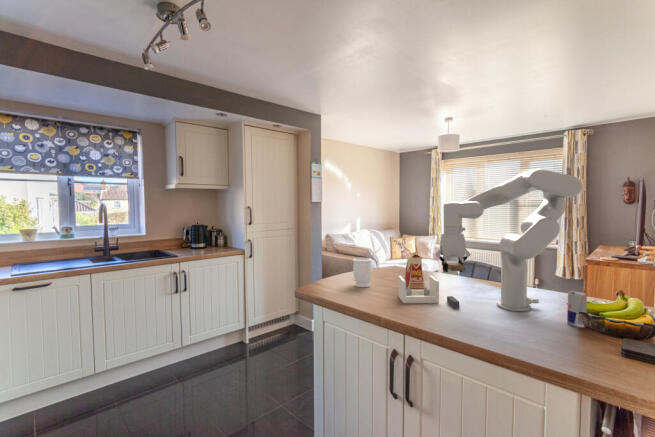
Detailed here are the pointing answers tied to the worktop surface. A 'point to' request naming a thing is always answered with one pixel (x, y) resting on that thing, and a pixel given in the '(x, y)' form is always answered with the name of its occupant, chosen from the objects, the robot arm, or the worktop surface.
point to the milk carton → (414, 273)
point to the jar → (362, 271)
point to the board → (455, 266)
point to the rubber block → (453, 302)
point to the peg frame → (419, 292)
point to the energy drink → (576, 308)
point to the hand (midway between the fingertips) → (452, 271)
